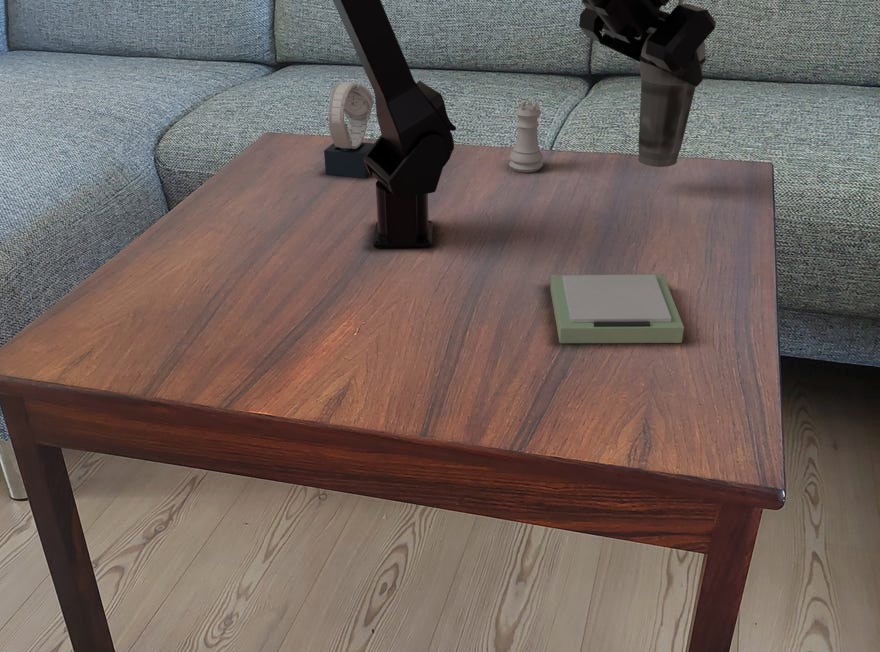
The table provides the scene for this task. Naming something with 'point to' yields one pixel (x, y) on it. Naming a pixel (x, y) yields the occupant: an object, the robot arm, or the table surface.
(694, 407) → the table surface
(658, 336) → the scale
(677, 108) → the beverage cup
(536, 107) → the rook chess piece
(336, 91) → the watch
